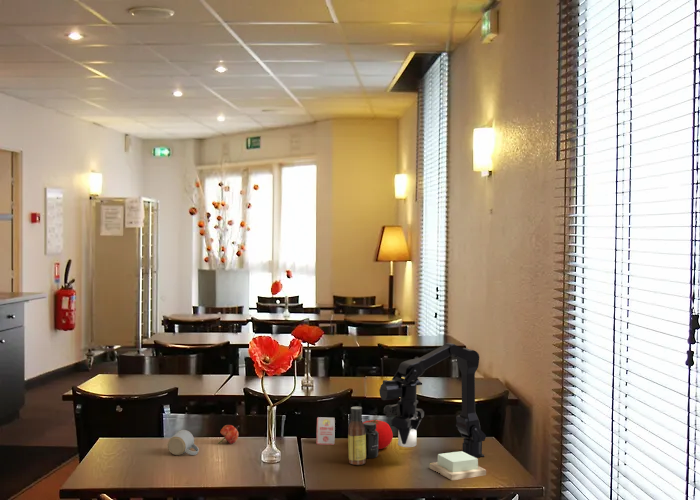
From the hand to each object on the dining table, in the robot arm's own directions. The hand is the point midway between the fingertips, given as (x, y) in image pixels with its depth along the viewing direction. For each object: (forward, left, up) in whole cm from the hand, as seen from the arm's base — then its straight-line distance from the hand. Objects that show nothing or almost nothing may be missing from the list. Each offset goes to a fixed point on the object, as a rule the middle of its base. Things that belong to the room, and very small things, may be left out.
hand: (407, 441), depth 281 cm
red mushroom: (+50, -50, -8) cm, 71 cm away
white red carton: (+16, -35, -8) cm, 40 cm away
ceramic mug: (+69, -43, -8) cm, 82 cm away
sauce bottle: (+16, -8, -8) cm, 20 cm away
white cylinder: (0, 0, -1) cm, 1 cm away
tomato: (+1, -23, -8) cm, 25 cm away
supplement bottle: (+8, -14, -8) cm, 18 cm away
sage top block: (-12, +14, -6) cm, 20 cm away
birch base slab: (-12, +14, -9) cm, 20 cm away
